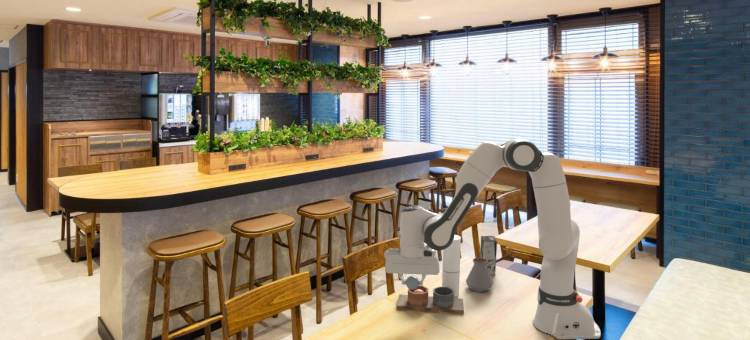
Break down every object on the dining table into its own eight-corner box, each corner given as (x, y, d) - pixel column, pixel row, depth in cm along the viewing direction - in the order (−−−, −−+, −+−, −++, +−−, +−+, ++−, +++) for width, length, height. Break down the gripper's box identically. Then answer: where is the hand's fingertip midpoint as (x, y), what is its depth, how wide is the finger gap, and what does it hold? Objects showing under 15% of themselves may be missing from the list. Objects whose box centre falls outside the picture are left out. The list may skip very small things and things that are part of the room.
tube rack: (463, 302, 182) (463, 287, 181) (463, 314, 173) (464, 298, 172) (399, 297, 186) (399, 283, 185) (396, 309, 177) (396, 293, 176)
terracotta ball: (424, 299, 182) (425, 287, 181) (423, 305, 177) (425, 293, 176) (412, 297, 183) (413, 286, 182) (411, 303, 178) (412, 291, 177)
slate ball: (419, 286, 170) (419, 273, 170) (418, 292, 166) (418, 279, 165) (406, 285, 171) (406, 273, 170) (405, 291, 166) (405, 278, 166)
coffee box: (495, 275, 209) (497, 241, 207) (481, 274, 210) (483, 241, 207) (492, 267, 218) (494, 235, 215) (479, 267, 219) (480, 235, 216)
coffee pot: (472, 295, 189) (473, 261, 186) (461, 283, 200) (462, 251, 197) (518, 290, 193) (520, 257, 190) (506, 280, 204) (507, 248, 201)
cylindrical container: (458, 290, 193) (460, 234, 189) (459, 297, 186) (461, 240, 182) (441, 289, 194) (442, 234, 190) (442, 297, 187) (443, 239, 183)
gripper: (383, 251, 164) (383, 286, 167) (439, 252, 161) (439, 289, 164) (385, 245, 171) (385, 279, 173) (439, 247, 167) (439, 282, 170)
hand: (412, 284), depth 168 cm, fingers closed on slate ball, 5 cm apart
